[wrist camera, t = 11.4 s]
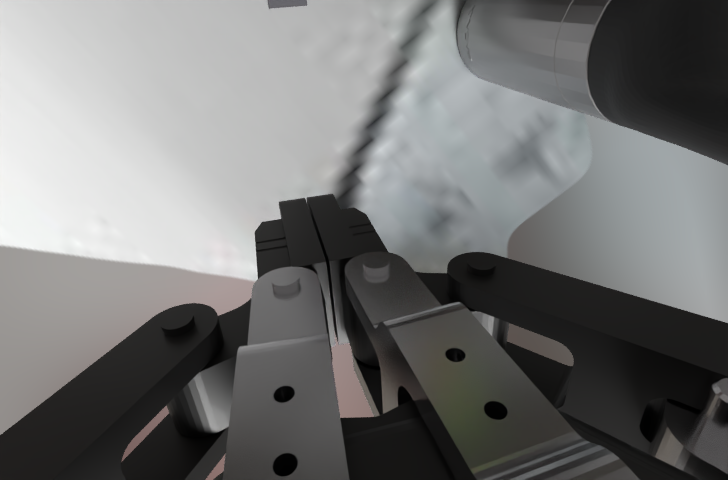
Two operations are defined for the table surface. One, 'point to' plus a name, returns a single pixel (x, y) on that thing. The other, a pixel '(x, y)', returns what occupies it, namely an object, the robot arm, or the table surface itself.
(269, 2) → the flat gray panel
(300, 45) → the table surface
